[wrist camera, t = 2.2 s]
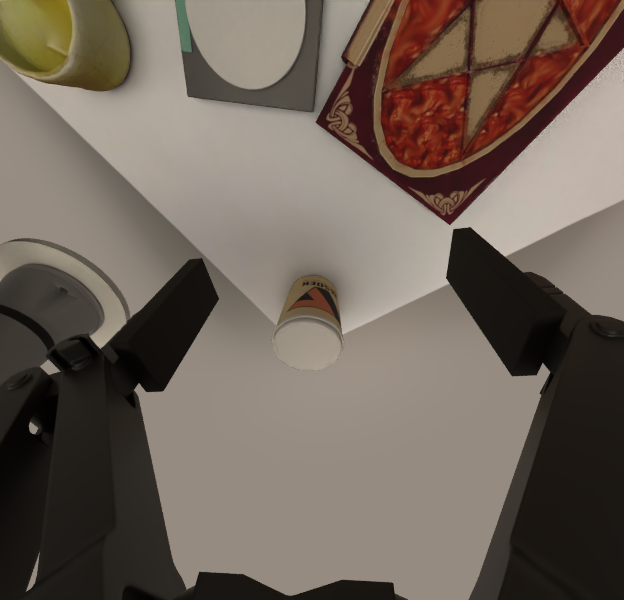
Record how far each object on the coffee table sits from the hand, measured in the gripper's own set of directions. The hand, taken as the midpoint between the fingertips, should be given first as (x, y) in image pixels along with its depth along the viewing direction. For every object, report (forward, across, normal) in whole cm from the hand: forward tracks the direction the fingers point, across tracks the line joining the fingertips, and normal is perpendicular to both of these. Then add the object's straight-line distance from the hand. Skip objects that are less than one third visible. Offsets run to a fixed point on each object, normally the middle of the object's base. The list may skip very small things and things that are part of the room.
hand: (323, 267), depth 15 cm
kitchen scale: (+24, -6, +15) cm, 29 cm away
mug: (+24, -21, +18) cm, 37 cm away
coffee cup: (+24, -5, -17) cm, 30 cm away
